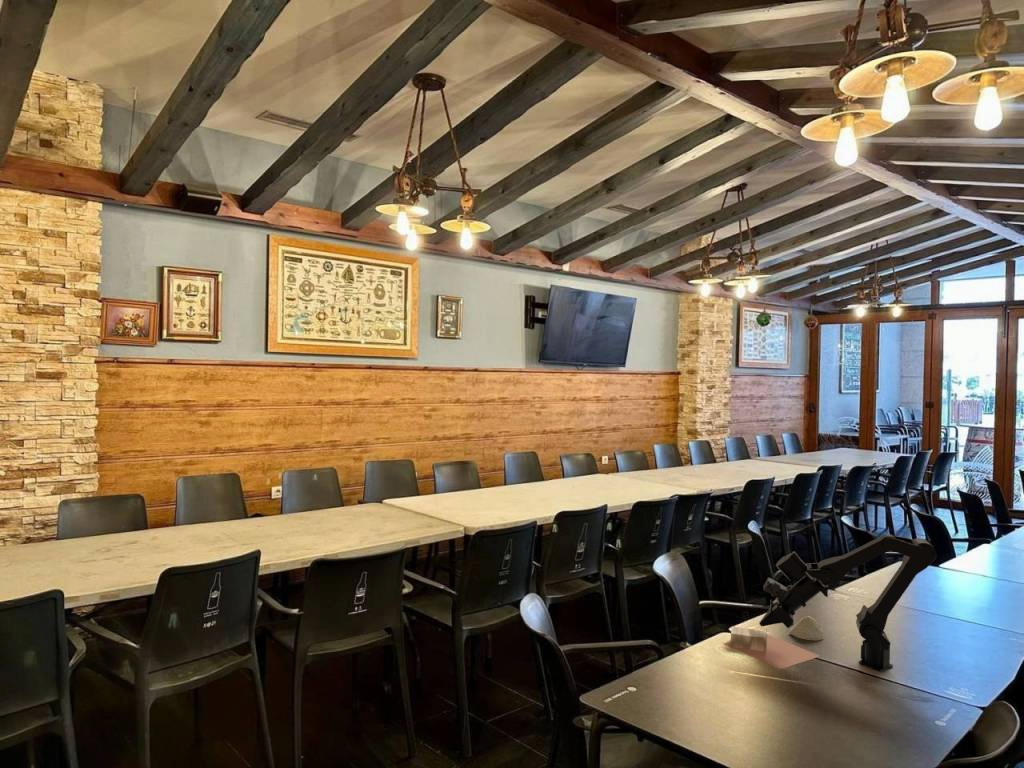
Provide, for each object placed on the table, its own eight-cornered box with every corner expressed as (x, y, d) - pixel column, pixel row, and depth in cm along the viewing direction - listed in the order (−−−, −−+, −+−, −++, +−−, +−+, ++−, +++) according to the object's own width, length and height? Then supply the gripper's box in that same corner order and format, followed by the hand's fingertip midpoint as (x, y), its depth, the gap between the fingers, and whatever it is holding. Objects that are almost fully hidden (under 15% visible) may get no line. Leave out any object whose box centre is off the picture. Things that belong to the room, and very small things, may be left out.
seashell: (831, 636, 209) (810, 624, 208) (812, 653, 212) (791, 641, 211) (823, 617, 216) (803, 605, 215) (805, 634, 219) (785, 622, 218)
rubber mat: (820, 657, 198) (820, 656, 198) (780, 670, 189) (780, 669, 189) (763, 634, 215) (763, 633, 215) (723, 645, 206) (723, 643, 206)
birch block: (766, 631, 206) (731, 626, 209) (766, 638, 200) (730, 633, 204) (766, 644, 206) (731, 639, 210) (766, 651, 200) (730, 646, 204)
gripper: (780, 563, 210) (741, 594, 214) (781, 579, 193) (739, 613, 197) (807, 591, 208) (767, 622, 212) (811, 611, 190) (768, 644, 194)
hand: (760, 624), depth 204 cm, fingers closed
